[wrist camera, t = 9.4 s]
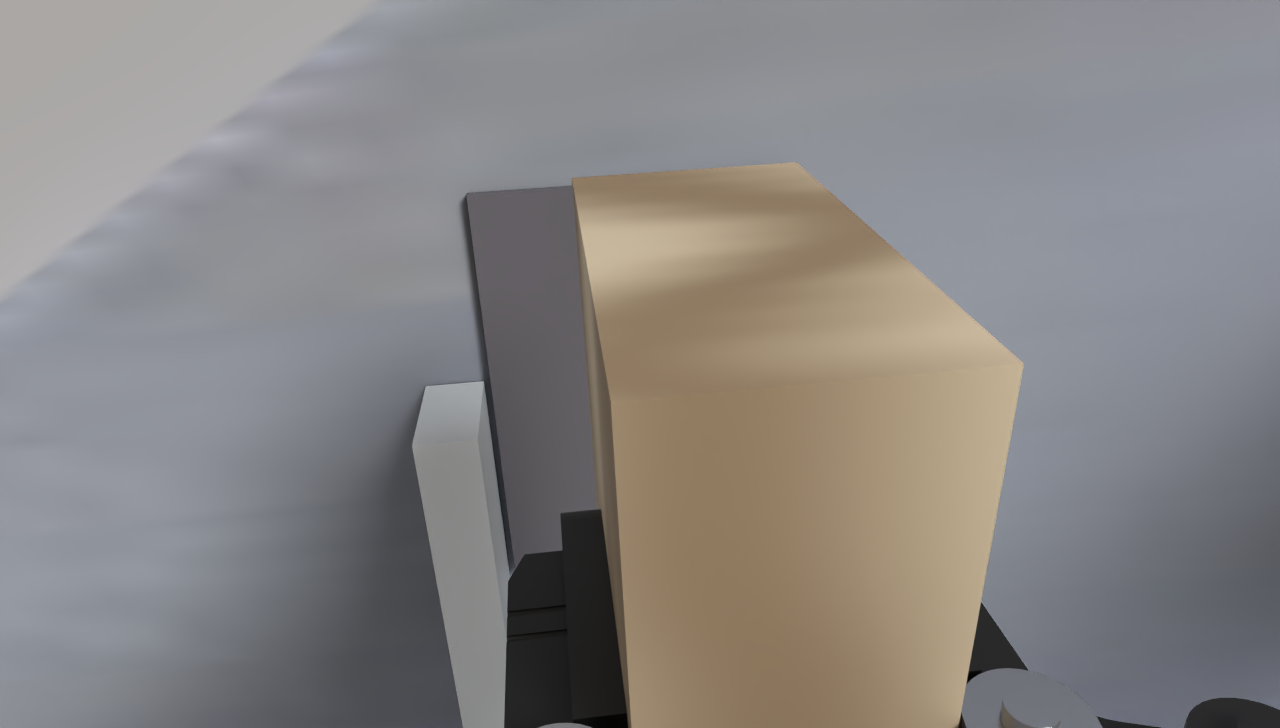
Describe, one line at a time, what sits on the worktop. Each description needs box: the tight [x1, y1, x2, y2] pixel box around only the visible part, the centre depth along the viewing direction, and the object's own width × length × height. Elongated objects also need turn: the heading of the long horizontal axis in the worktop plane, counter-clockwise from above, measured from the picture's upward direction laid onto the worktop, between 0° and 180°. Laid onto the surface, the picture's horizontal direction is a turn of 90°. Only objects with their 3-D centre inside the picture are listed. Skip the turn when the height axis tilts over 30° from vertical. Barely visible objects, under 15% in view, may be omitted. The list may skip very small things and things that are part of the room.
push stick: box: [572, 162, 1024, 728], centre depth 11 cm, size 3×10×6 cm, turn 3°
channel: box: [412, 186, 597, 728], centre depth 24 cm, size 11×21×3 cm, turn 2°
